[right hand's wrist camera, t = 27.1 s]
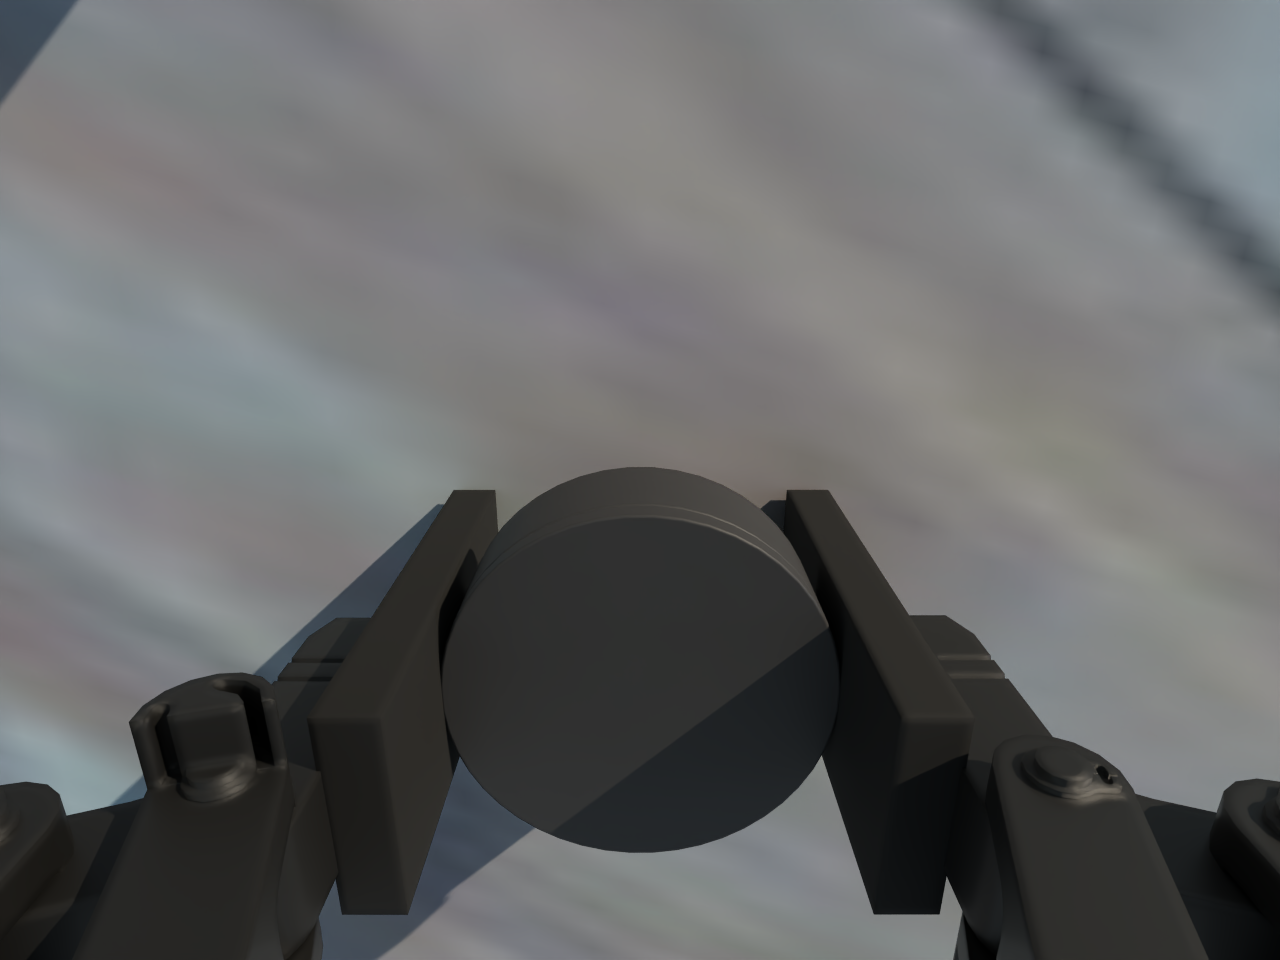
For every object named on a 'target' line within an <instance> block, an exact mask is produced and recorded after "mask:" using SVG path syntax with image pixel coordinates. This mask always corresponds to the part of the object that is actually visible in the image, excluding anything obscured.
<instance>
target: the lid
mask: <svg viewBox="0 0 1280 960" xmlns="http://www.w3.org/2000/svg"><path fill="white" fill-rule="evenodd" d="M840 686H841V678H840V663H839V658H838V653H837V648H836V644H835V640H834V638H833V635H832V632H831V630H830V627H829V624H828V622H827V619H826V617H825V615H824V613H823V610H822V608H821V606H820V604H819V601H818V599H817V597H816V595H815V592H814V590H813V588H812V586H811V583H810V581H809V579H808V577H807V574H806V572H805V570H804V568H803V565H802V563H801V561H800V559H799V557H798V556H797V554H796V552H795V550H794V548H793V547H792V545H791V543H790V542H789V540H788V539H787V538H786V536H785V535H784V534H783V533H782V531H781V530H780V529H779V527H778V526H777V525H776V524H775V523H774V522H773V521H772V520H771V519H770V518H769V517H768V516H767V515H766V514H765V513H764V512H763V511H762V510H761V509H759V508H758V507H757V506H755V505H754V504H753V503H751V502H750V501H748V500H747V499H746V498H744V497H743V496H741V495H740V494H738V493H736V492H734V491H732V490H731V489H729V488H727V487H725V486H723V485H721V484H719V483H716V482H714V481H711V480H708V479H706V478H703V477H701V476H697V475H693V474H689V473H685V472H681V471H677V470H670V469H662V468H654V467H627V468H619V469H611V470H603V471H600V472H596V473H592V474H588V475H584V476H580V477H578V478H575V479H573V480H570V481H568V482H565V483H563V484H560V485H558V486H556V487H554V488H552V489H550V490H549V491H547V492H545V493H543V494H541V495H540V496H538V497H536V498H535V499H534V500H532V501H531V502H530V503H528V504H527V505H526V506H524V507H523V508H522V509H520V510H519V511H518V512H517V513H516V514H515V515H514V516H513V517H512V518H511V519H510V520H509V521H508V522H507V523H506V524H505V525H504V526H503V527H502V529H501V530H500V531H499V532H498V534H497V535H496V536H495V538H494V539H493V540H492V542H491V543H490V545H489V546H488V548H487V550H486V552H485V554H484V555H483V557H482V559H481V561H480V563H479V565H478V567H477V570H476V572H475V574H474V577H473V579H472V581H471V583H470V586H469V588H468V590H467V593H466V595H465V597H464V599H463V602H462V604H461V606H460V609H459V611H458V613H457V615H456V618H455V620H454V623H453V625H452V628H451V631H450V633H449V636H448V639H447V641H446V645H445V650H444V654H443V659H442V664H441V690H442V699H443V708H444V716H445V720H446V724H447V728H448V731H449V734H450V736H451V738H452V741H453V743H454V745H455V748H456V750H457V752H458V754H459V755H460V757H461V759H462V760H463V762H464V764H465V765H466V767H467V769H468V770H469V772H470V773H471V774H472V775H473V777H474V778H475V779H476V780H477V781H478V783H479V784H480V785H481V786H482V788H483V789H484V790H485V791H486V792H488V793H489V794H490V795H491V796H492V797H493V798H494V799H495V800H496V801H497V802H498V803H499V804H500V805H502V806H503V807H504V808H506V809H507V810H508V811H510V812H511V813H512V814H514V815H515V816H517V817H518V818H520V819H521V820H523V821H525V822H527V823H528V824H530V825H532V826H534V827H535V828H537V829H539V830H541V831H544V832H546V833H548V834H550V835H553V836H555V837H557V838H560V839H563V840H566V841H569V842H572V843H576V844H579V845H582V846H587V847H592V848H597V849H602V850H608V851H618V852H628V853H653V852H663V851H672V850H679V849H684V848H689V847H694V846H699V845H702V844H705V843H708V842H712V841H715V840H718V839H721V838H724V837H726V836H728V835H730V834H733V833H735V832H737V831H739V830H742V829H744V828H746V827H747V826H749V825H751V824H753V823H754V822H756V821H758V820H759V819H761V818H763V817H764V816H766V815H767V814H768V813H770V812H771V811H772V810H774V809H775V808H776V807H778V806H779V805H780V804H782V803H783V802H784V801H785V800H786V799H787V798H788V797H789V796H790V795H791V794H792V793H793V792H794V791H795V790H796V789H798V788H799V786H800V785H801V784H802V783H803V781H804V780H805V779H806V778H807V776H808V775H809V774H810V773H811V771H812V770H813V769H814V767H815V765H816V764H817V762H818V760H819V759H820V757H821V755H822V754H823V752H824V750H825V748H826V746H827V743H828V741H829V738H830V736H831V734H832V731H833V728H834V724H835V720H836V717H837V713H838V706H839V696H840Z"/></svg>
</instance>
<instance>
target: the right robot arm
mask: <svg viewBox="0 0 1280 960" xmlns="http://www.w3.org/2000/svg"><path fill="white" fill-rule="evenodd" d="M497 534H498V525H497V510H496V496H495V490H454V491H453V492H452V494H451V495H450V497H449V498H448V500H447V501H446V503H445V505H444V506H443V508H442V509H441V511H440V512H439V514H438V515H437V517H436V518H435V520H434V522H433V523H432V525H431V526H430V528H429V529H428V531H427V532H426V534H425V536H424V537H423V539H422V540H421V542H420V543H419V545H418V546H417V548H416V549H415V551H414V553H413V554H412V556H411V557H410V559H409V560H408V562H407V563H406V565H405V566H404V568H403V570H402V571H401V573H400V574H399V576H398V577H397V579H396V580H395V582H394V584H393V585H392V587H391V588H390V590H389V591H388V593H387V594H386V596H385V597H384V599H383V601H382V602H381V604H380V605H379V607H378V608H377V610H376V611H375V613H374V614H373V616H372V618H336V619H334V620H333V621H331V622H330V623H328V624H327V625H325V626H324V627H322V628H321V629H319V630H318V631H316V632H315V633H313V634H312V635H310V636H309V637H308V638H307V639H306V640H305V642H304V643H303V644H302V646H301V647H300V648H299V650H298V651H297V652H296V654H295V655H294V656H293V658H292V662H291V663H288V664H287V665H286V667H285V668H284V669H283V671H282V672H281V673H280V675H279V676H278V681H274V682H273V684H272V685H271V684H270V683H269V682H268V681H266V680H265V679H264V678H263V677H260V676H256V675H251V674H247V673H224V674H215V675H211V676H207V677H202V678H198V679H194V680H190V681H188V682H185V683H183V684H181V685H178V686H176V687H174V688H171V689H169V690H166V691H164V692H163V693H161V694H160V695H158V696H157V697H155V698H154V699H152V700H151V701H149V702H148V703H146V704H145V705H143V706H142V707H141V708H140V710H139V711H138V712H137V713H136V714H135V715H134V717H133V718H132V719H131V720H130V721H129V725H130V728H131V732H132V735H133V739H134V743H135V746H136V750H137V753H138V757H139V760H140V764H141V768H142V771H143V775H144V778H145V782H146V786H147V792H146V794H145V796H144V798H142V799H139V800H135V801H131V802H127V803H123V804H118V805H114V806H109V807H104V808H100V809H95V810H91V811H86V812H81V813H77V814H72V815H68V816H66V813H65V810H64V807H63V804H62V801H61V798H60V795H59V794H58V793H57V792H56V791H55V790H54V789H52V788H51V787H50V786H49V785H47V784H39V783H32V782H20V783H13V784H6V785H0V960H321V959H322V951H323V942H322V934H321V927H320V922H319V914H320V912H321V910H322V908H323V906H324V903H325V901H326V899H327V897H328V894H329V892H330V890H331V888H332V886H333V883H334V881H335V879H336V883H337V889H338V894H339V900H340V906H341V911H342V915H408V912H409V909H410V906H411V903H412V900H413V897H414V894H415V891H416V888H417V885H418V882H419V879H420V876H421V873H422V870H423V867H424V863H425V860H426V857H427V854H428V851H429V848H430V845H431V842H432V839H433V836H434V833H435V830H436V827H437V824H438V821H439V818H440V815H441V812H442V809H443V806H444V802H445V799H446V796H447V793H448V790H449V787H450V784H451V781H452V778H453V775H454V772H455V769H456V766H457V763H458V760H459V757H460V755H459V754H458V752H457V750H456V748H455V745H454V743H453V741H452V738H451V736H450V734H449V731H448V728H447V724H446V720H445V716H444V708H443V699H442V690H441V664H442V659H443V654H444V650H445V645H446V641H447V639H448V636H449V633H450V631H451V628H452V625H453V623H454V620H455V618H456V615H457V613H458V611H459V609H460V606H461V604H462V602H463V599H464V597H465V595H466V593H467V590H468V588H469V586H470V583H471V581H472V579H473V577H474V574H475V572H476V570H477V567H478V565H479V563H480V561H481V559H482V557H483V555H484V554H485V552H486V550H487V548H488V546H489V545H490V543H491V542H492V540H493V539H494V538H495V536H496V535H497ZM784 535H785V536H786V538H787V539H788V540H789V542H790V543H791V545H792V547H793V548H794V550H795V552H796V554H797V556H798V557H799V559H800V561H801V563H802V565H803V568H804V570H805V572H806V574H807V577H808V579H809V581H810V583H811V586H812V588H813V590H814V592H815V595H816V597H817V599H818V601H819V604H820V606H821V608H822V610H823V613H824V615H825V617H826V619H827V622H828V624H829V627H830V630H831V632H832V635H833V638H834V640H835V644H836V648H837V653H838V658H839V663H840V678H841V686H840V696H839V706H838V713H837V717H836V720H835V724H834V728H833V731H832V734H831V736H830V738H829V741H828V743H827V746H826V748H825V750H824V752H823V754H822V757H823V760H824V763H825V766H826V769H827V772H828V776H829V779H830V782H831V785H832V788H833V791H834V794H835V797H836V800H837V803H838V806H839V809H840V812H841V815H842V818H843V821H844V824H845V828H846V831H847V834H848V837H849V840H850V843H851V846H852V849H853V852H854V855H855V858H856V861H857V864H858V867H859V870H860V873H861V876H862V880H863V883H864V886H865V889H866V892H867V895H868V898H869V901H870V904H871V907H872V910H873V913H874V914H940V909H941V904H942V898H943V893H944V887H945V882H946V876H947V878H948V880H949V882H950V884H951V887H952V889H953V891H954V893H955V895H956V898H957V900H958V902H959V904H960V906H961V909H962V911H963V912H962V917H961V922H960V927H959V933H958V938H957V943H956V948H955V953H954V958H953V960H1280V782H1278V781H1270V780H1263V779H1251V780H1244V781H1236V782H1235V783H1233V784H1232V785H1231V786H1230V787H1228V788H1227V789H1226V790H1225V791H1224V792H1223V795H1222V798H1221V801H1220V804H1219V807H1218V810H1217V813H1215V812H1211V811H1206V810H1201V809H1197V808H1192V807H1188V806H1183V805H1178V804H1174V803H1169V802H1165V801H1160V800H1155V799H1151V798H1148V797H1144V796H1141V795H1137V794H1135V792H1134V790H1133V788H1132V787H1131V785H1130V784H1129V783H1128V781H1127V780H1126V779H1125V777H1124V776H1123V774H1122V773H1121V772H1120V770H1118V769H1117V768H1116V767H1114V766H1113V765H1112V764H1110V763H1109V762H1108V761H1107V760H1105V759H1104V758H1103V757H1101V756H1100V755H1098V754H1096V753H1094V752H1092V751H1090V750H1088V749H1086V748H1084V747H1082V746H1080V745H1078V744H1076V743H1073V742H1069V741H1066V740H1062V739H1058V738H1054V737H1052V735H1051V734H1050V733H1049V731H1048V730H1047V729H1046V727H1045V726H1044V725H1043V724H1042V722H1041V721H1040V720H1039V718H1038V717H1037V716H1036V714H1035V713H1034V712H1033V710H1032V709H1031V708H1030V707H1029V705H1028V704H1027V703H1026V701H1025V700H1024V699H1023V697H1022V696H1021V695H1020V694H1019V692H1018V691H1017V690H1016V688H1015V687H1014V686H1013V684H1012V683H1011V682H1010V680H1009V679H1005V676H1004V675H1005V674H1004V673H1003V671H1002V670H1001V669H1000V667H999V666H998V665H997V664H996V662H995V661H994V660H991V656H990V654H989V653H988V652H987V650H986V649H985V648H984V647H983V645H982V644H981V643H980V641H979V640H978V639H977V637H976V636H975V635H974V634H973V633H972V632H970V631H968V630H967V629H965V628H964V627H962V626H961V625H959V624H958V623H956V622H955V621H953V620H952V619H950V618H949V617H947V616H946V615H909V614H908V613H907V611H906V610H905V608H904V607H903V605H902V604H901V602H900V601H899V599H898V597H897V596H896V594H895V593H894V591H893V590H892V588H891V587H890V585H889V584H888V582H887V580H886V579H885V577H884V576H883V574H882V573H881V571H880V570H879V568H878V566H877V565H876V563H875V562H874V560H873V559H872V557H871V556H870V554H869V553H868V551H867V549H866V548H865V546H864V545H863V543H862V542H861V540H860V539H859V537H858V535H857V534H856V532H855V531H854V529H853V528H852V526H851V525H850V523H849V522H848V520H847V518H846V517H845V515H844V514H843V512H842V511H841V509H840V508H839V506H838V505H837V503H836V501H835V500H834V498H833V497H832V495H831V494H830V492H829V491H828V490H787V496H786V510H785V524H784Z"/></svg>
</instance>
